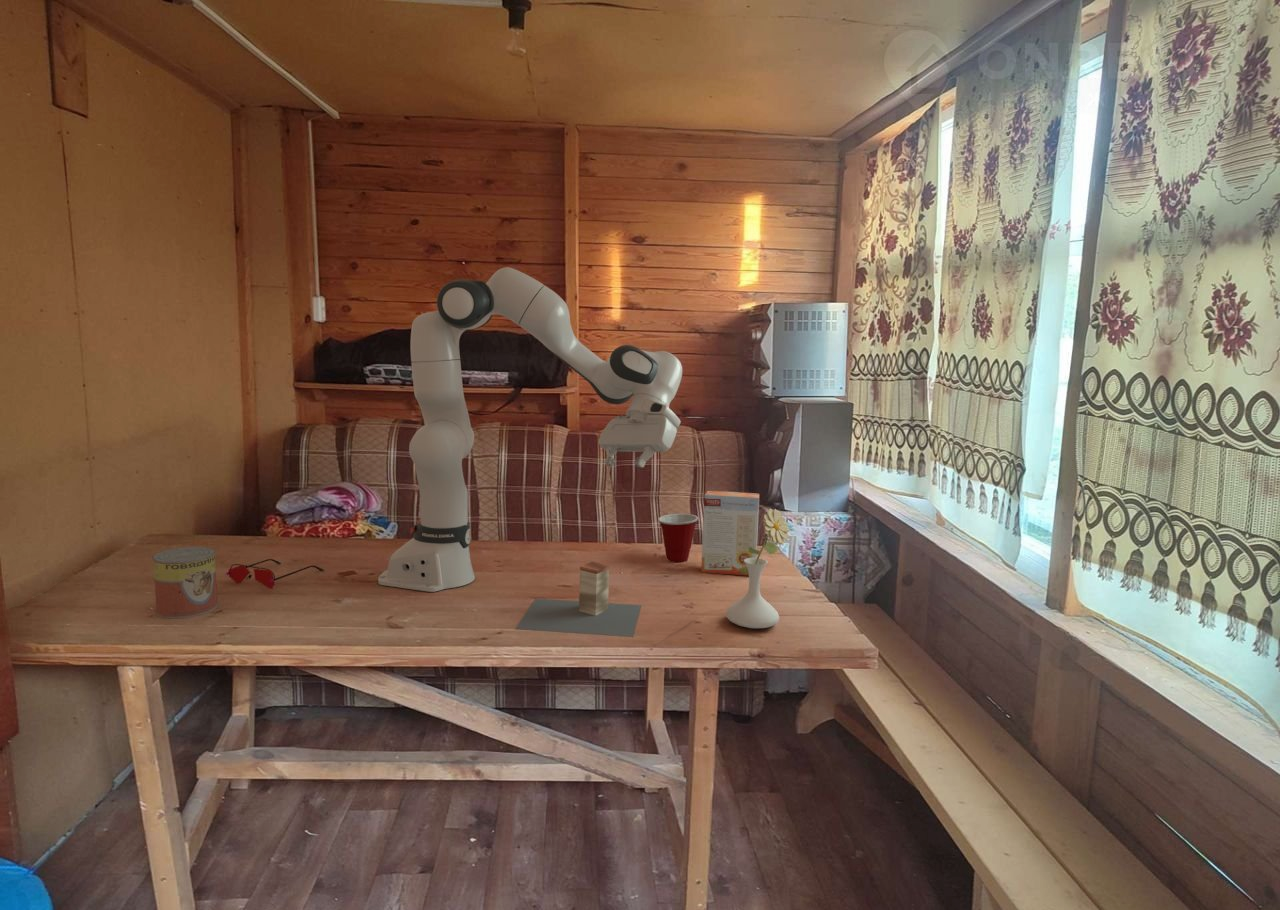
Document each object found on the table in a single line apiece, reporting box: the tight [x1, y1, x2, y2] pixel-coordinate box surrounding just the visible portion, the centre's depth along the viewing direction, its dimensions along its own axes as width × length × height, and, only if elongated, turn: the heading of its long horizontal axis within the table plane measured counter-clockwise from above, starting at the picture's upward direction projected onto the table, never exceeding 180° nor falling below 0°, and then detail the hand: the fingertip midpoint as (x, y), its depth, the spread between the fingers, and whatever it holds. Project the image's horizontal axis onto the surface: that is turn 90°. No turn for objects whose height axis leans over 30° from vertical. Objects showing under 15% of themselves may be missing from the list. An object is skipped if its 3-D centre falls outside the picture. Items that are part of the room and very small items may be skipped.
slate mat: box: [515, 597, 642, 638], centre depth 161 cm, size 24×18×1 cm
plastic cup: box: [657, 513, 699, 563], centre depth 205 cm, size 11×11×12 cm
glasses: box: [225, 558, 325, 590], centre depth 182 cm, size 14×16×5 cm
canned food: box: [151, 545, 219, 619], centre depth 159 cm, size 11×11×12 cm
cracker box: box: [701, 490, 760, 577], centre depth 196 cm, size 14×6×21 cm, turn 80°
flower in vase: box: [725, 508, 791, 629], centre depth 160 cm, size 13×11×25 cm
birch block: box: [578, 561, 610, 616], centre depth 163 cm, size 4×4×10 cm
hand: (623, 465), depth 170 cm, fingers open, 8 cm apart
